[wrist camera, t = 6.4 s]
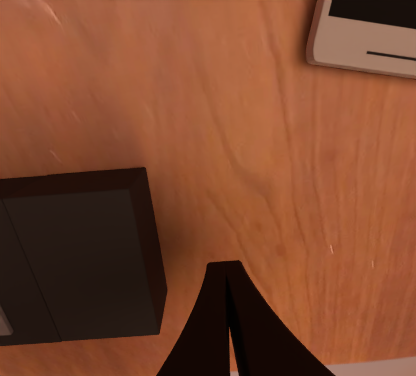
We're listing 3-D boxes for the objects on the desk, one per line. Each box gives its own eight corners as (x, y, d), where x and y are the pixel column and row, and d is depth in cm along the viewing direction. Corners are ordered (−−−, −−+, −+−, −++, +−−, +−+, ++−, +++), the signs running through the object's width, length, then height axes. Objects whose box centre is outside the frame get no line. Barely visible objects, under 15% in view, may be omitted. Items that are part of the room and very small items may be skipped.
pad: (167, 290, 15) (159, 335, 12) (88, 296, 15) (61, 341, 12) (145, 166, 12) (128, 188, 9) (47, 174, 12) (1, 198, 9)
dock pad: (88, 296, 15) (59, 346, 12) (9, 302, 15) (-38, 352, 12) (47, 175, 12) (-3, 201, 9) (-50, 182, 12) (-131, 211, 9)
